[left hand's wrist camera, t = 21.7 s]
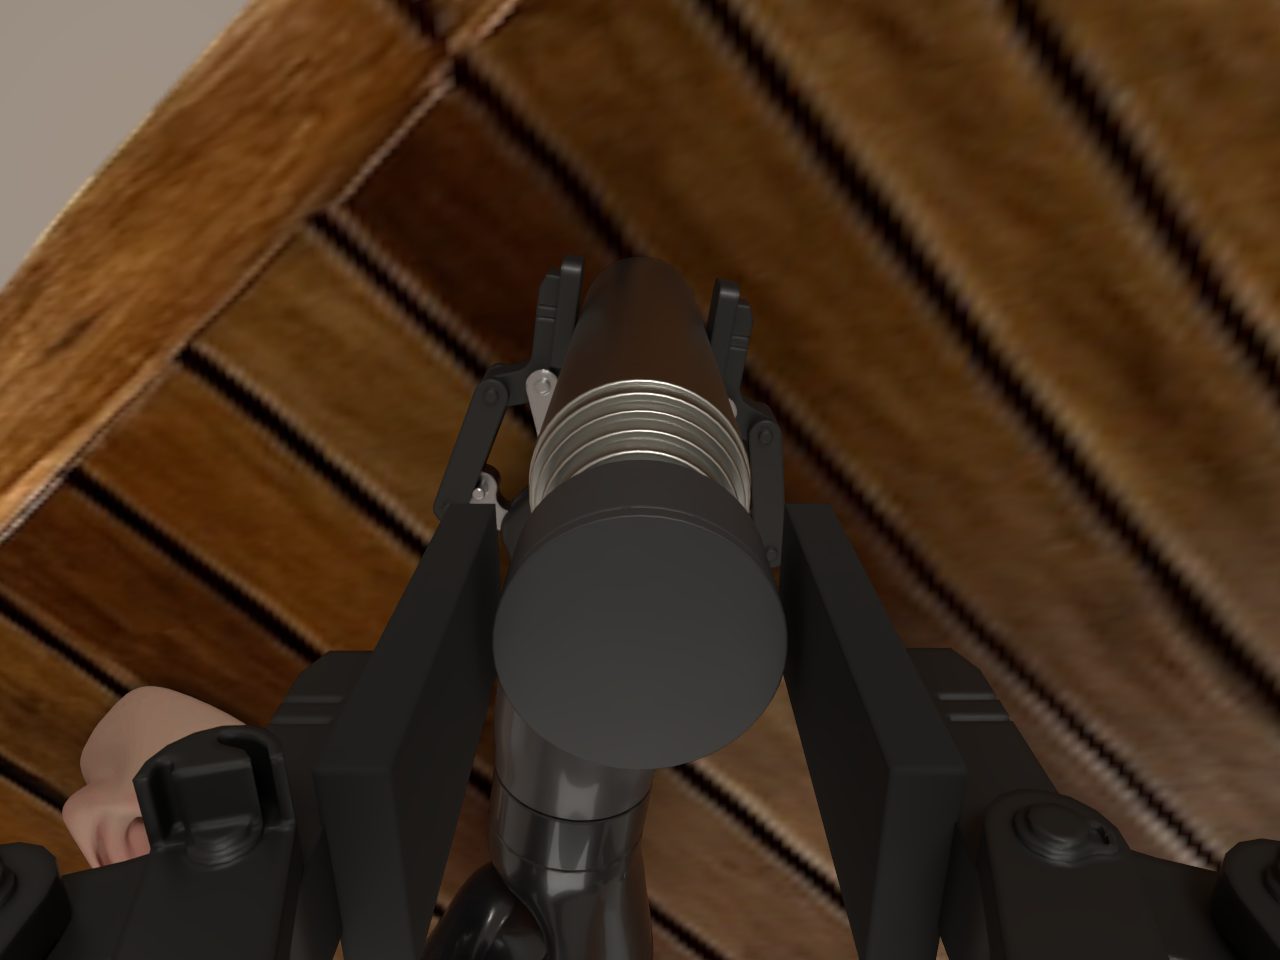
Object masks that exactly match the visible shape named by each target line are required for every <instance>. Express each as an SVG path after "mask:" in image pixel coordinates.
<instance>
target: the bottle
mask: <svg viewBox="0 0 1280 960" xmlns="http://www.w3.org/2000/svg"><path fill="white" fill-rule="evenodd" d="M623 460H656V461H663V462H668V463H673V464H677V465H680V466H683V467H686V468H689V469H692V470H695V471H697V472H699V473H701V474H703V475H705V476H707V477H709V478H710V479H712V480H714V481H715V482H717V483H718V484H720V485H721V486H723V487H724V488H725V489H726V490H727V491H728V492H730V493H731V494H732V495H733V496H734V497H735V498H736V499H737V500H738V501H739V502H740V503H741V504H742V506H743V507H744V508H745V509H746V511H747V512H748V514H749V510H750V501H751V469H750V463H749V458H748V455H747V452H746V449H745V446H744V443H743V440H742V437H741V434H740V431H739V428H738V425H737V422H736V419H735V416H734V413H733V410H732V407H731V404H730V402H729V399H728V396H727V393H726V390H725V387H724V384H723V381H722V378H721V375H720V372H719V369H718V366H717V363H716V360H715V357H714V354H713V351H712V349H711V346H710V343H709V340H708V337H707V334H706V331H705V328H704V325H703V322H702V319H701V316H700V313H699V310H698V307H697V304H696V301H695V298H694V296H693V293H692V290H691V288H690V286H689V284H688V283H687V281H686V280H685V278H684V277H683V276H682V275H681V274H680V273H679V272H678V271H677V270H676V269H674V268H673V267H672V266H670V265H669V264H667V263H665V262H663V261H661V260H657V259H654V258H649V257H630V258H626V259H622V260H620V261H617V262H615V263H613V264H611V265H610V266H608V267H607V268H605V269H604V270H603V271H602V272H601V273H600V274H599V275H598V276H597V277H596V278H595V280H594V281H593V283H592V284H591V286H590V288H589V290H588V292H587V295H586V298H585V301H584V304H583V307H582V310H581V312H580V315H579V318H578V321H577V324H576V327H575V330H574V333H573V336H572V339H571V342H570V345H569V348H568V351H567V354H566V357H565V360H564V362H563V365H562V368H561V371H560V374H559V377H558V380H557V383H556V386H555V389H554V392H553V395H552V398H551V401H550V404H549V407H548V409H547V412H546V415H545V418H544V421H543V424H542V427H541V430H540V433H539V436H538V439H537V442H536V445H535V448H534V451H533V455H532V458H531V462H530V469H529V503H530V510H531V513H532V512H533V510H534V509H535V508H536V506H537V505H538V504H539V503H540V502H541V501H542V500H543V499H544V498H545V497H546V496H547V495H548V494H549V493H550V492H551V491H553V490H554V489H555V488H556V487H557V486H559V485H560V484H562V483H563V482H565V481H566V480H568V479H570V478H571V477H573V476H575V475H577V474H579V473H581V472H583V471H586V470H588V469H590V468H593V467H597V466H600V465H603V464H606V463H612V462H617V461H623Z"/></svg>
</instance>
